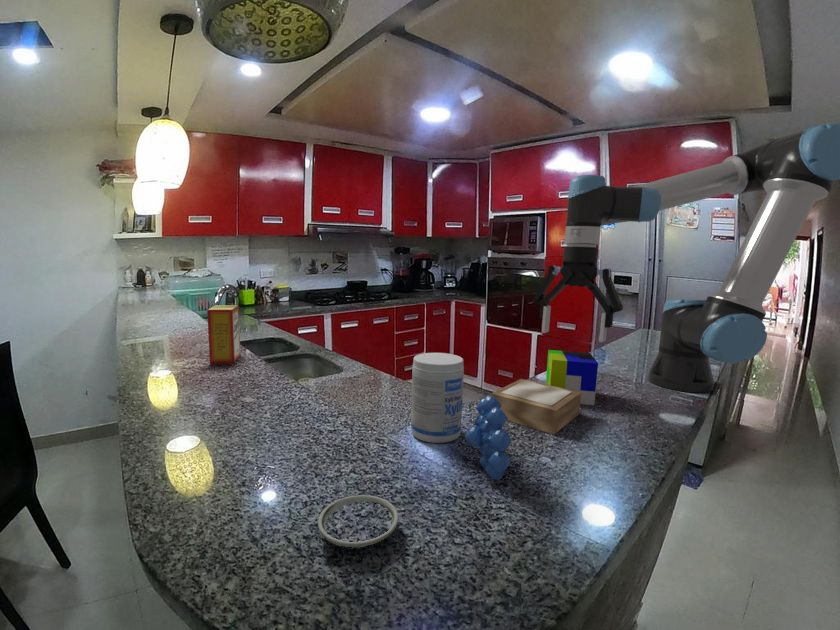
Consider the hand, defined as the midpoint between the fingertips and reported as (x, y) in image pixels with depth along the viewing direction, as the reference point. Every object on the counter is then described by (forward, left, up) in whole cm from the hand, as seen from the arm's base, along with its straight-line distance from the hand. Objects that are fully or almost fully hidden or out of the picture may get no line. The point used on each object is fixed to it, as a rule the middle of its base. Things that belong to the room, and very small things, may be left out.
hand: (572, 336), depth 102 cm
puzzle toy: (0, 0, -15) cm, 15 cm away
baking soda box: (+89, +40, -15) cm, 98 cm away
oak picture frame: (+1, +17, -15) cm, 22 cm away
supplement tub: (+11, +39, -15) cm, 43 cm away
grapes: (-3, +45, -15) cm, 47 cm away
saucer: (+1, +68, -15) cm, 70 cm away
